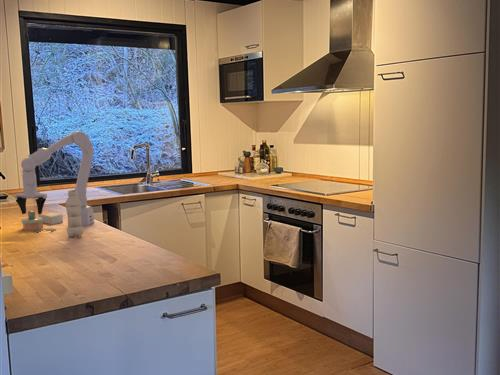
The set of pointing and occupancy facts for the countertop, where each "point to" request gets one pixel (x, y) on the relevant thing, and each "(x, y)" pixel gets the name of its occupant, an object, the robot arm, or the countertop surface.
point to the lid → (31, 218)
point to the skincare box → (51, 217)
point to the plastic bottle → (74, 214)
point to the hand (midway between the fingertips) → (32, 213)
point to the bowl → (33, 226)
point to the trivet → (45, 229)
